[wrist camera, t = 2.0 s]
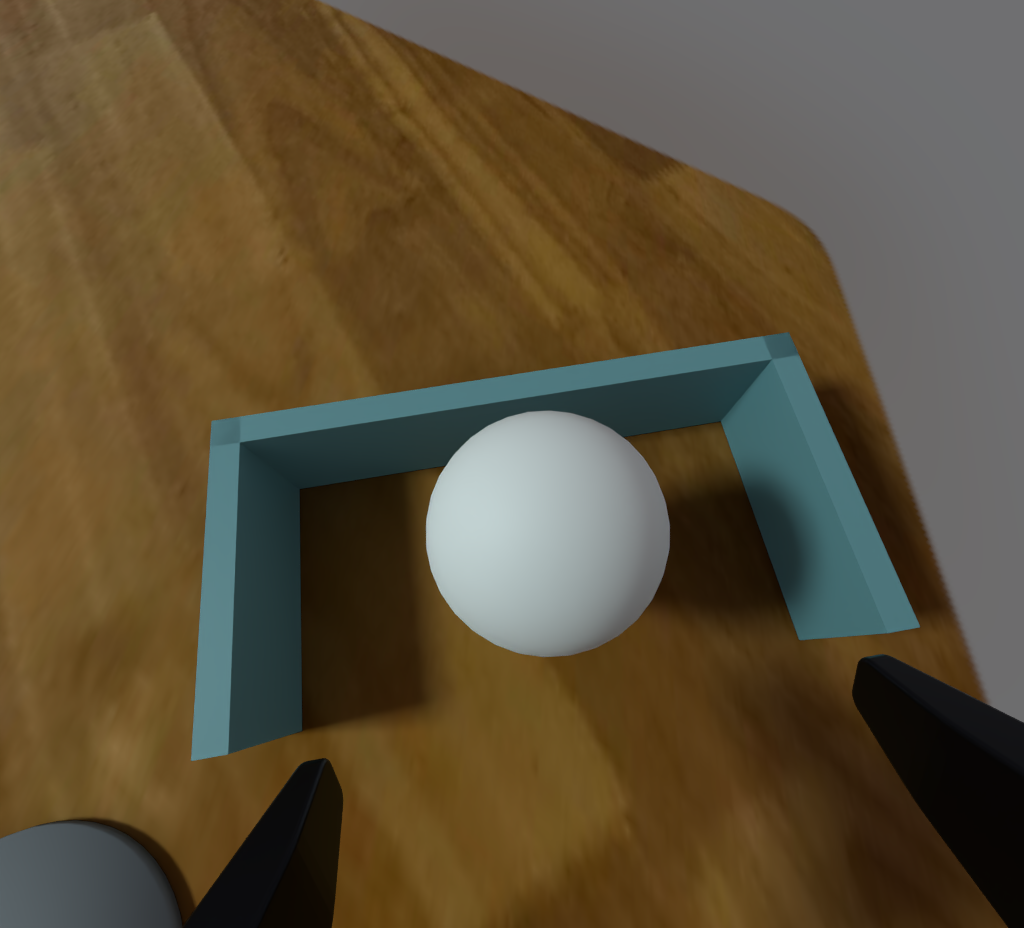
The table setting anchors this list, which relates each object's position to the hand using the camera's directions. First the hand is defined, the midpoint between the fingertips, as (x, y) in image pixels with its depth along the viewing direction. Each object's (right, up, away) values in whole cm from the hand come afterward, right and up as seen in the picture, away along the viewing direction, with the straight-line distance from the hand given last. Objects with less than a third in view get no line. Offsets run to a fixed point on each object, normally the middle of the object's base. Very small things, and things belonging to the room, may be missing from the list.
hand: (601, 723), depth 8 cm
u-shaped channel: (-1, +1, +12) cm, 12 cm away
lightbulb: (0, 0, +12) cm, 12 cm away
